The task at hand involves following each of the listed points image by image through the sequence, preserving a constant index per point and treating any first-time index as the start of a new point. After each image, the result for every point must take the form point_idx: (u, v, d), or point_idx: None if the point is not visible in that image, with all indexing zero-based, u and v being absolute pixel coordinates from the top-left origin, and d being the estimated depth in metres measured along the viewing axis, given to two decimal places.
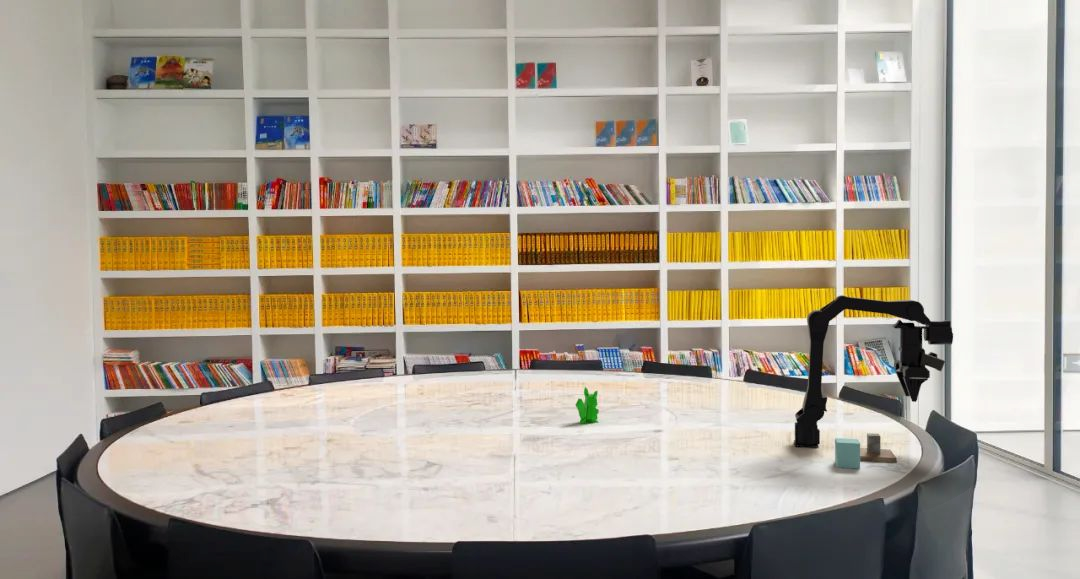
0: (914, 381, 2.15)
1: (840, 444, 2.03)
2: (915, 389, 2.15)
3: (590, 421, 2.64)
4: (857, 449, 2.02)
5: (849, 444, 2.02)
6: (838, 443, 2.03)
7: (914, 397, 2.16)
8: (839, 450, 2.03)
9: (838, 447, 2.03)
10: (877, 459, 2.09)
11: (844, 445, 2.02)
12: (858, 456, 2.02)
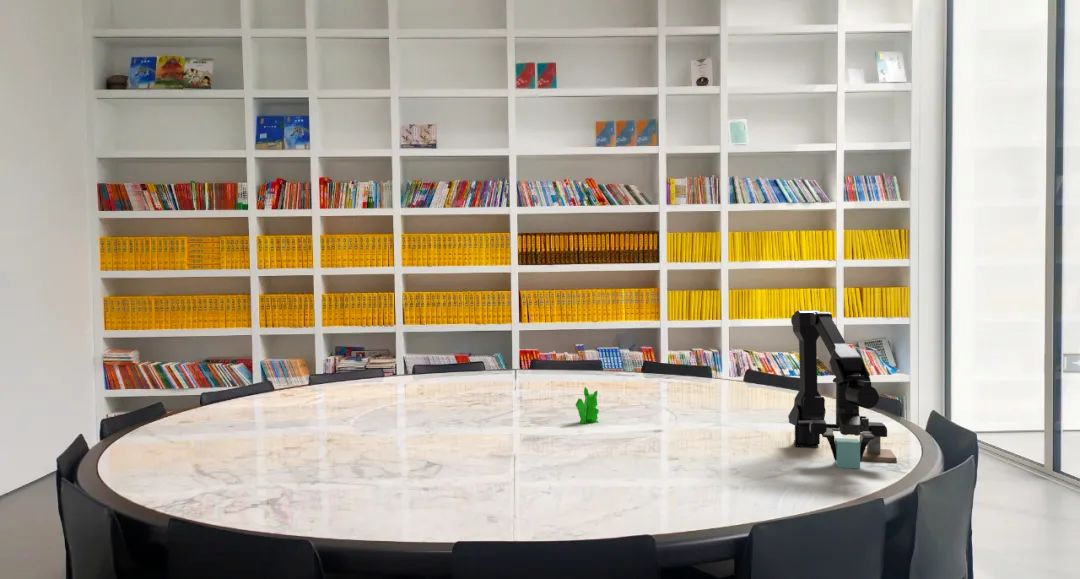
0: None
1: (840, 444, 2.03)
2: (830, 446, 2.06)
3: (590, 421, 2.64)
4: (857, 449, 2.02)
5: (849, 444, 2.02)
6: (838, 443, 2.03)
7: (834, 455, 2.06)
8: (839, 450, 2.03)
9: (838, 447, 2.03)
10: (877, 459, 2.09)
11: (844, 445, 2.02)
12: (858, 456, 2.02)
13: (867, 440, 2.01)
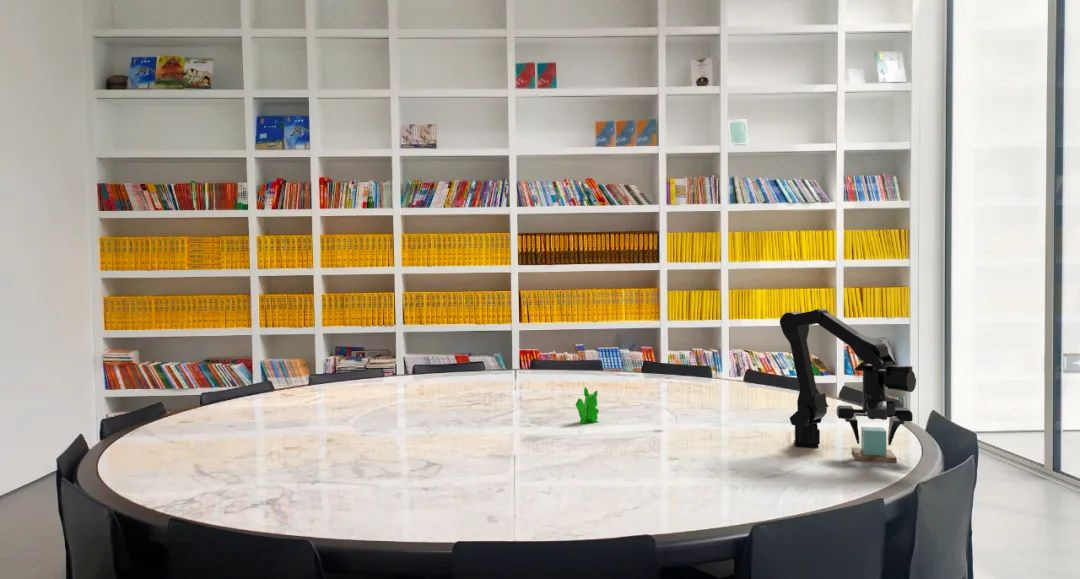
0: None
1: (867, 432, 2.11)
2: (853, 430, 2.15)
3: (590, 421, 2.64)
4: (884, 437, 2.10)
5: (876, 432, 2.11)
6: (865, 431, 2.11)
7: (856, 439, 2.15)
8: (866, 438, 2.11)
9: (865, 435, 2.11)
10: (877, 459, 2.09)
11: (871, 433, 2.11)
12: (884, 444, 2.10)
13: (897, 425, 2.10)
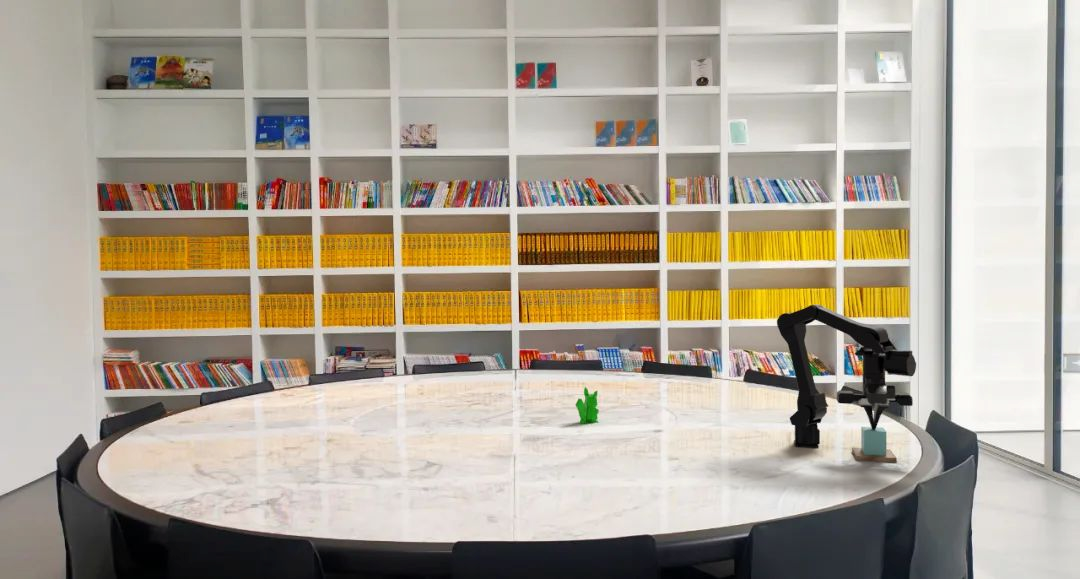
0: None
1: (867, 432, 2.11)
2: (868, 416, 2.13)
3: (590, 421, 2.64)
4: (884, 437, 2.10)
5: (876, 432, 2.11)
6: (865, 431, 2.11)
7: (871, 425, 2.13)
8: (866, 438, 2.11)
9: (865, 435, 2.11)
10: (877, 459, 2.09)
11: (871, 433, 2.11)
12: (884, 444, 2.10)
13: (882, 409, 2.10)
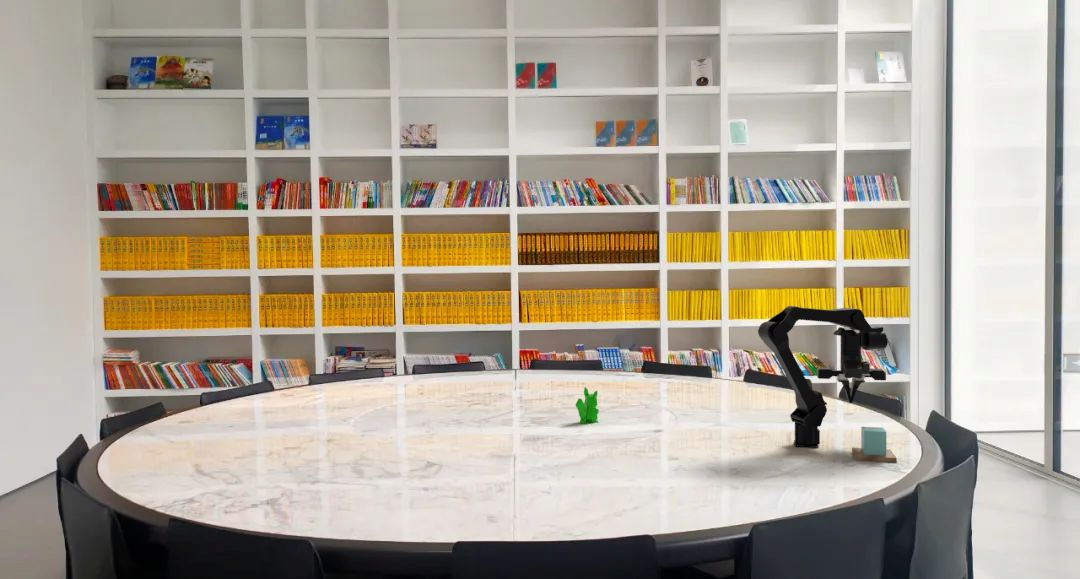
0: None
1: (867, 432, 2.11)
2: (845, 390, 2.31)
3: (590, 421, 2.64)
4: (884, 437, 2.10)
5: (876, 432, 2.11)
6: (865, 431, 2.11)
7: None
8: (866, 438, 2.11)
9: (865, 435, 2.11)
10: (877, 459, 2.09)
11: (871, 433, 2.11)
12: (884, 444, 2.10)
13: (858, 383, 2.28)
